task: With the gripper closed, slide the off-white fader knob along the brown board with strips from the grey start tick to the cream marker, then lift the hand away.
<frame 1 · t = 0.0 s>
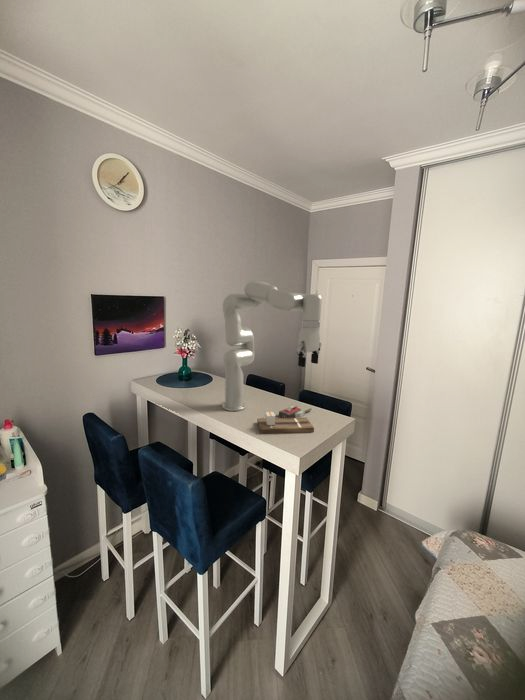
hand: (308, 364, 130), 31 cm above the table, tool pointing down, fingers open, 9 cm apart
fader: (270, 418, 140), point 4 cm above the table, slide at -7.0 cm
brown board with strips: (284, 427, 142), on the table
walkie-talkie: (295, 414, 159), on the table
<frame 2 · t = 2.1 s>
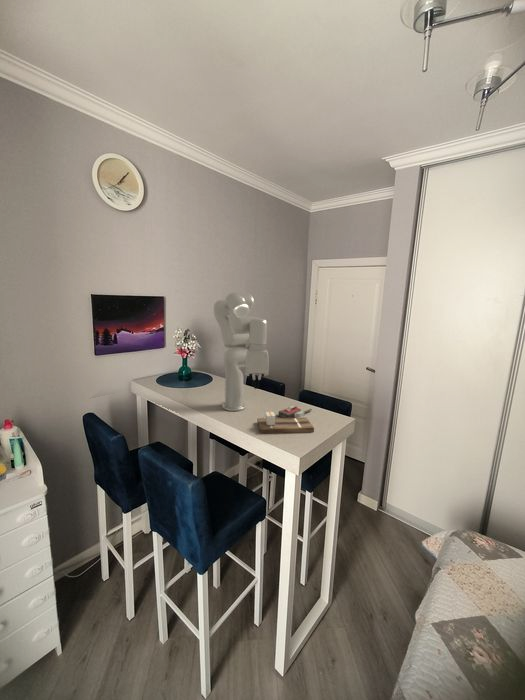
hand: (256, 387, 136), 19 cm above the table, tool pointing down, fingers closed
nothing on the table moved.
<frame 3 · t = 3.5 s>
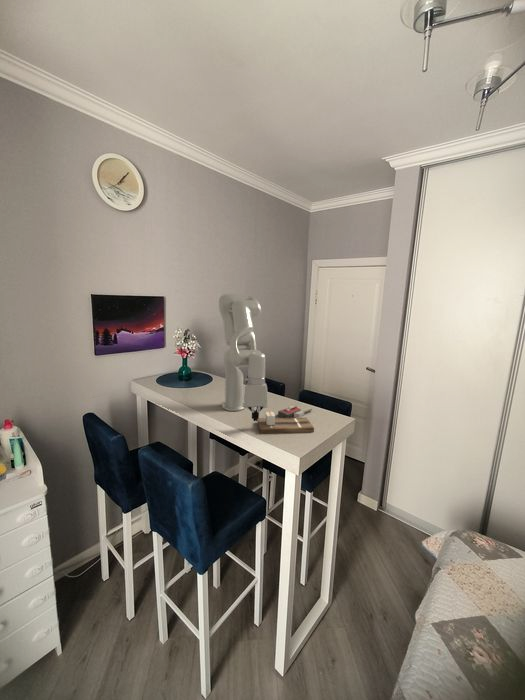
hand: (255, 420, 139), 4 cm above the table, tool pointing down, fingers closed
nothing on the table moved.
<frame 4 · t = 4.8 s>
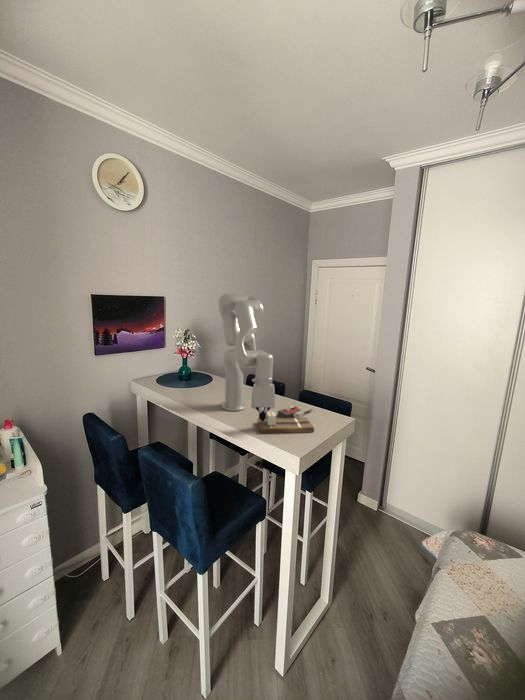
hand: (262, 420, 140), 4 cm above the table, tool pointing down, fingers closed
fader: (271, 418, 140), point 4 cm above the table, slide at -6.6 cm, touching gripper
everything else where it was.
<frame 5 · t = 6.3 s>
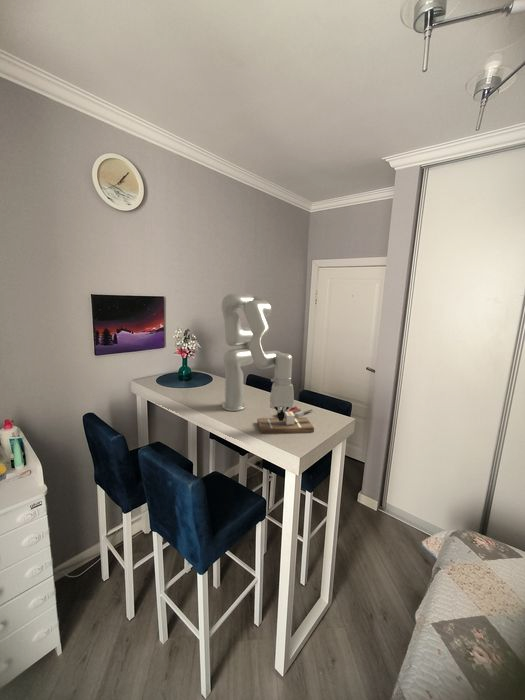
hand: (280, 419, 141), 4 cm above the table, tool pointing down, fingers closed
fader: (289, 417, 141), point 4 cm above the table, slide at 2.0 cm, touching gripper
everything else where it was.
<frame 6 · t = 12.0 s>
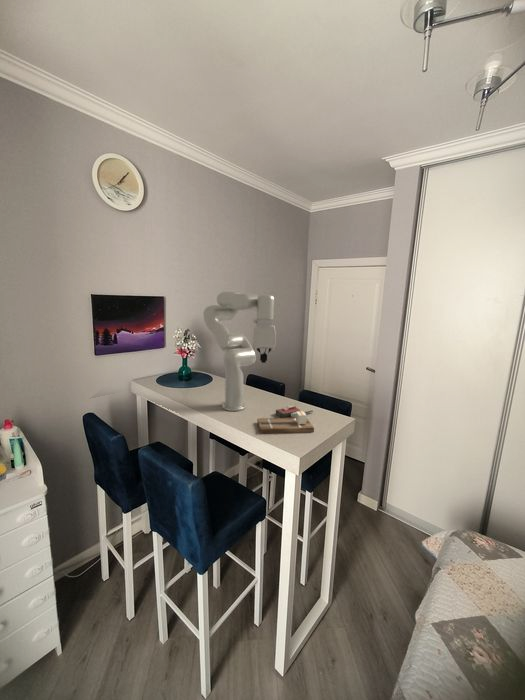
hand: (263, 362, 142), 29 cm above the table, tool pointing down, fingers closed
fader: (301, 417, 142), point 4 cm above the table, slide at 7.5 cm
at the end: fader slide at 7.5 cm; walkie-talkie moved 1.3 cm from its start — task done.
